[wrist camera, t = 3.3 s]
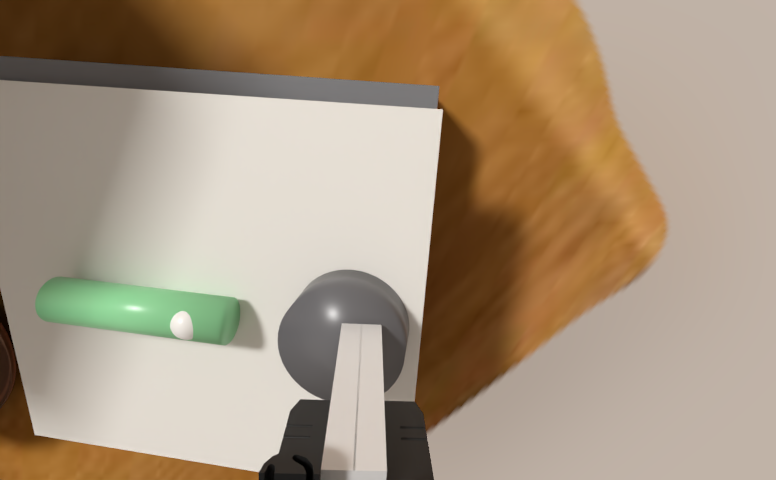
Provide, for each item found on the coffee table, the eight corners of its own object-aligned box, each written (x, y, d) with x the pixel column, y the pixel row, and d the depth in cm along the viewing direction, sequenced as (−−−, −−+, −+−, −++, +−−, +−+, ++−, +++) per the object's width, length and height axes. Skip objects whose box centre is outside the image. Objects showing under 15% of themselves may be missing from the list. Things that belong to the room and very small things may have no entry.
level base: (104, 385, 28) (63, 428, 25) (50, 62, 22) (-15, 54, 18) (401, 391, 30) (406, 434, 26) (427, 88, 24) (439, 86, 20)
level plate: (59, 415, 24) (-7, 467, 21) (-13, 79, 19) (-118, 72, 15) (407, 471, 22) (400, 540, 19) (443, 109, 17) (442, 109, 13)
